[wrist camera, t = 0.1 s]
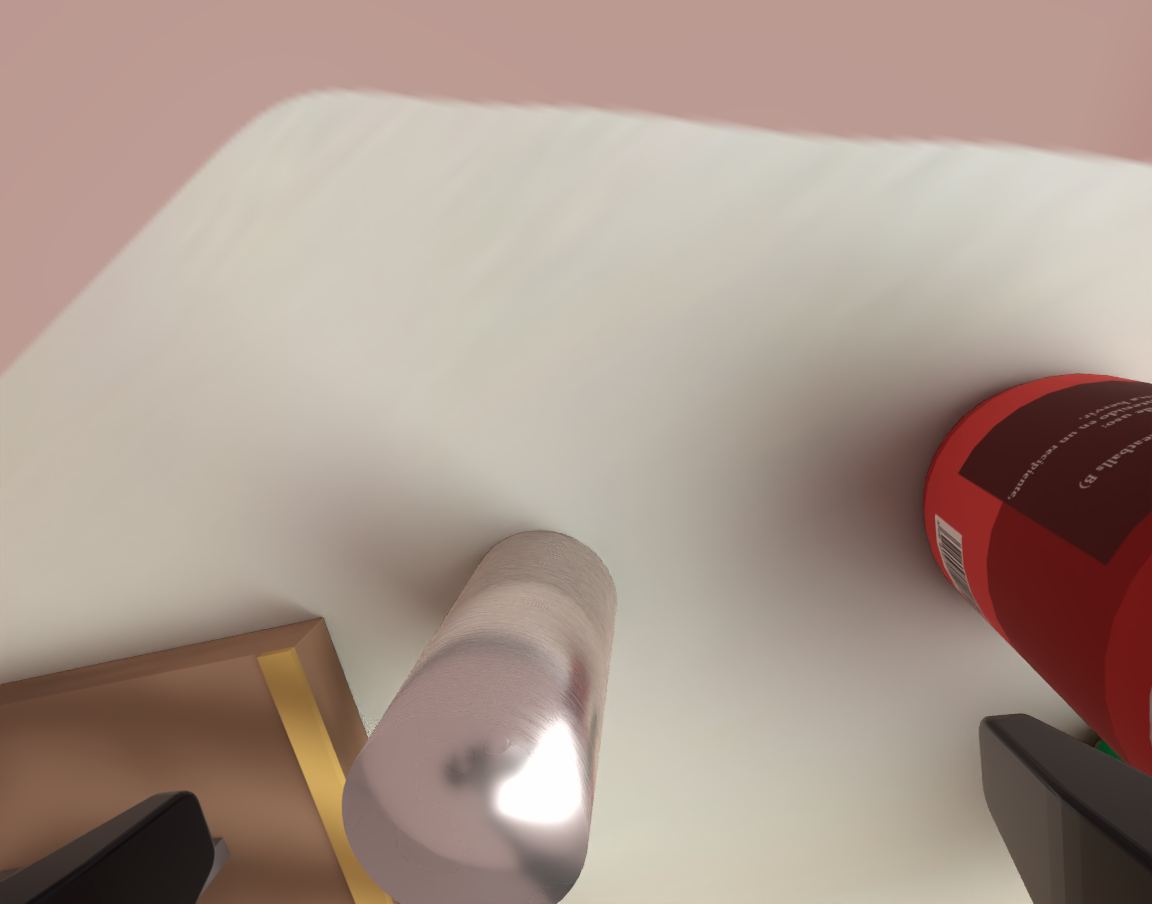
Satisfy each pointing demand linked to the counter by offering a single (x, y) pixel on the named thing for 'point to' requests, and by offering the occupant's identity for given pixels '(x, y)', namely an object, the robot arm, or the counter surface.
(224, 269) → the counter surface
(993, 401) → the canned food
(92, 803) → the dock
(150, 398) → the counter surface
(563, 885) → the canister
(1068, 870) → the robot arm
